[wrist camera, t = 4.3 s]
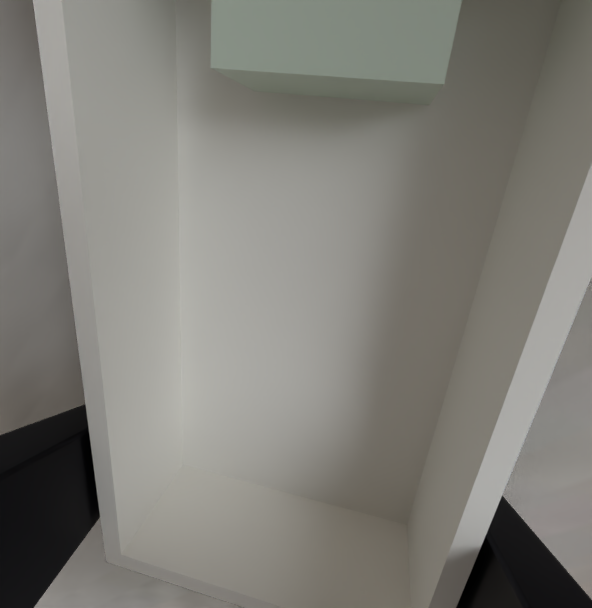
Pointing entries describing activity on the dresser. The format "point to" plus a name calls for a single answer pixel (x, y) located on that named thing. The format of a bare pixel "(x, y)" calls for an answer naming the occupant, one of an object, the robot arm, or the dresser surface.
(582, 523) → the dresser surface
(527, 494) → the dresser surface
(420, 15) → the soap bar
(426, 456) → the tray
